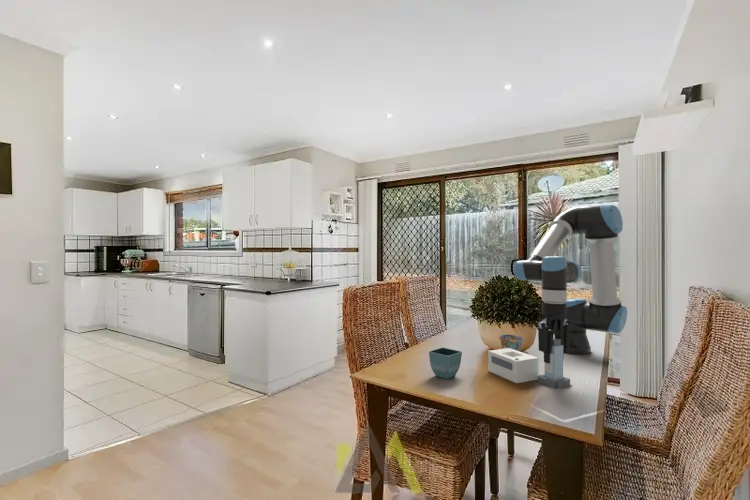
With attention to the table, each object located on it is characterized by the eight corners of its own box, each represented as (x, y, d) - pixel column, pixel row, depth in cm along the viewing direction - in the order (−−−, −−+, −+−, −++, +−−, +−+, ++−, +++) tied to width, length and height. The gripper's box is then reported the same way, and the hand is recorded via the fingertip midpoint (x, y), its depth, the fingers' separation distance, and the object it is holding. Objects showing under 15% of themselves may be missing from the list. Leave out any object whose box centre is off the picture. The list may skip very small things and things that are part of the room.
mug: (528, 366, 144) (528, 339, 144) (507, 368, 142) (507, 340, 142) (510, 357, 156) (510, 332, 156) (491, 358, 154) (491, 333, 154)
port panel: (508, 368, 141) (508, 346, 141) (538, 380, 128) (538, 356, 128) (487, 372, 137) (487, 349, 137) (516, 385, 124) (516, 360, 124)
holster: (552, 379, 129) (552, 372, 129) (572, 387, 122) (572, 379, 122) (535, 382, 126) (535, 375, 126) (555, 390, 119) (555, 383, 119)
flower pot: (442, 370, 139) (442, 346, 139) (462, 376, 133) (462, 351, 133) (428, 376, 133) (428, 351, 133) (448, 382, 126) (448, 356, 126)
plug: (553, 380, 127) (553, 336, 127) (563, 384, 123) (563, 339, 123) (544, 382, 125) (544, 338, 125) (554, 386, 121) (554, 340, 121)
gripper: (562, 299, 131) (562, 364, 131) (526, 302, 124) (526, 371, 124) (581, 302, 124) (581, 371, 124) (544, 305, 117) (544, 378, 117)
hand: (553, 371), depth 124 cm, fingers closed on plug, 4 cm apart
